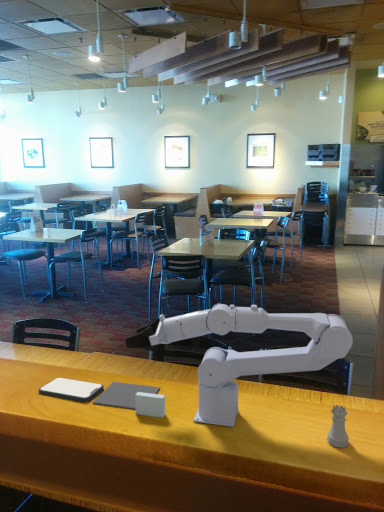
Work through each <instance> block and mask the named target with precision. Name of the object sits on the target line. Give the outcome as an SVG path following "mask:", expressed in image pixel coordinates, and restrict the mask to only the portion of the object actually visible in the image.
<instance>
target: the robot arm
mask: <svg viewBox="0 0 384 512" xmlns="http://www.w3.org/2000/svg"><path fill="white" fill-rule="evenodd" d="M267 329H271V330H283V331H291V332H292V331H293V332H303V333H304V334H306V335H307V336H308V337H309V338H311V340H310V341H309V343H308V344H307V346H302V347H298V346H297V347H288V348H278V349H266V350H254V351H253V350H252V351H241V352H239V351H236V350H234V349H224V348H221V347H218V346H214V347H210V348H209V349H207V350H206V351H205V352H204V355H203V358H202V361H201V363H200V364H199V366H198V367H197V371H196V376H197V379H198V409H197V411H196V413H195V416H194V417H193V421H194V422H196V423H201V424H202V423H203V424H210V425H219V426H225V427H232V428H233V427H234V426H235V423H236V421H237V420H236V419H237V417H238V414H239V383H238V382H236V381H234V380H236V379H238V378H239V377H242V376H243V377H244V376H254V375H255V376H256V375H270V374H271V375H273V374H284V373H297V372H312V371H320V370H322V369H324V368H325V367H327V366H328V365H331V364H332V363H333V362H335V361H337V360H338V359H339V360H340V359H344V358H345V357H346V356H347V355H348V353H349V351H350V350H351V348H352V347H353V345H354V344H353V342H354V340H353V334H352V333H351V331H350V330H349V329H348V326H347V323H346V321H345V319H343V317H342V316H341V315H339V314H333V313H331V314H330V313H329V314H327V313H322V312H314V313H308V312H306V313H305V312H304V313H299V312H298V313H296V312H295V313H290V312H289V313H285V312H283V313H268V311H266V310H265V309H264V308H263V307H258V305H257V304H251V305H250V307H249V306H235V304H230V305H228V304H224V303H220V302H218V303H216V304H214V305H213V306H212V307H211V308H209V309H208V308H207V309H203V310H197V311H193V312H188V313H185V314H180V315H175V316H172V317H167V318H166V317H165V314H163V313H162V314H160V315H159V316H158V318H157V319H156V320H154V321H152V322H151V323H149V324H146V325H144V326H142V327H140V328H138V329H136V334H133V335H130V336H128V337H127V338H125V339H124V342H125V345H126V346H125V347H126V348H129V349H143V350H147V351H150V352H155V351H156V350H157V348H156V347H157V346H156V345H161V344H163V345H168V344H171V343H174V342H178V341H183V340H187V339H193V338H197V337H201V336H202V337H203V336H205V335H209V334H215V335H219V336H225V335H227V334H228V333H229V332H234V333H246V334H249V333H250V334H262V333H263V332H265V331H266V330H267Z"/></svg>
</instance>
